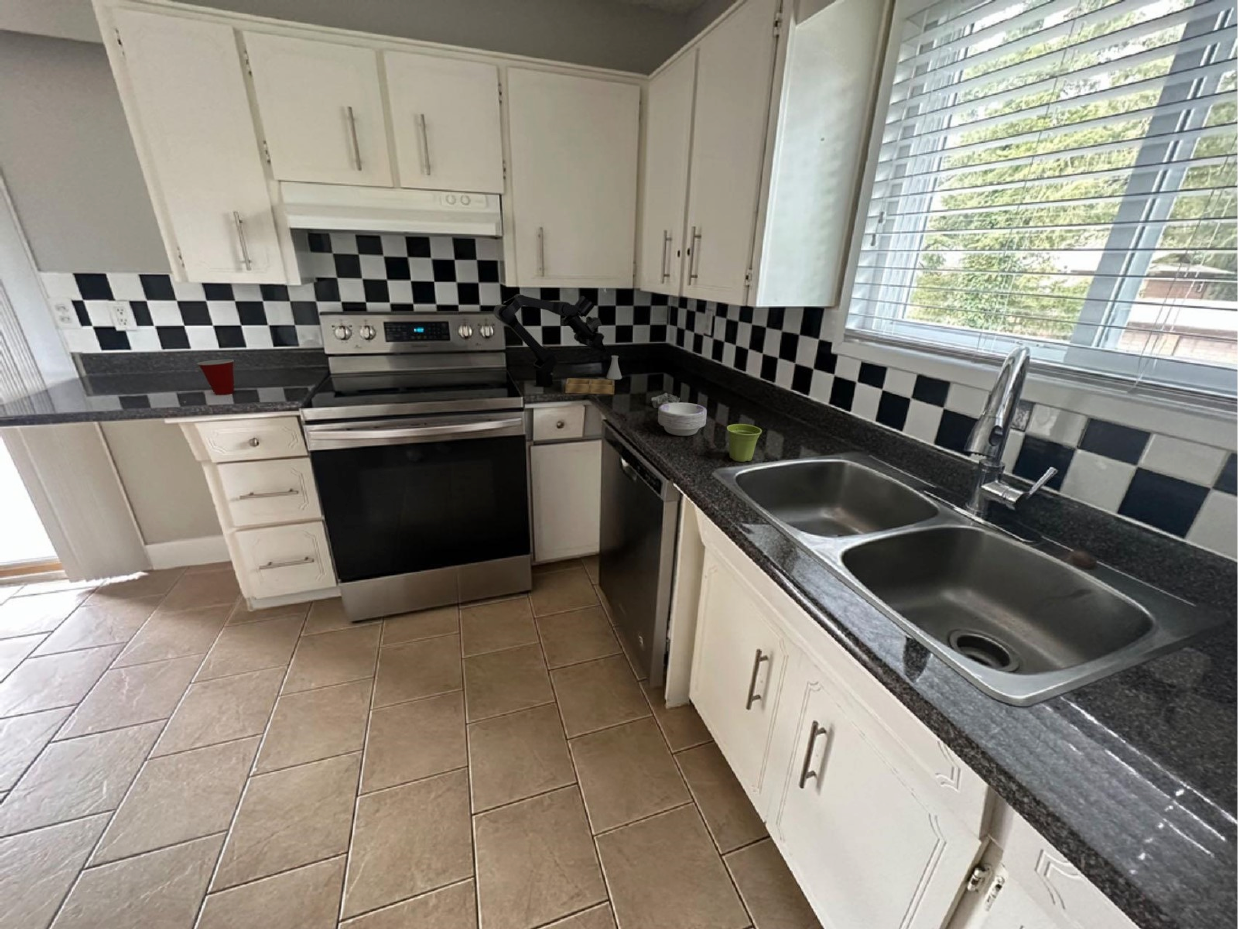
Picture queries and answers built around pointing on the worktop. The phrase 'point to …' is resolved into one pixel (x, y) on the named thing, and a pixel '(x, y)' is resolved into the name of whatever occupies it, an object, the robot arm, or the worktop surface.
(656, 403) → the egg carton
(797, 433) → the worktop surface
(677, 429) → the paper bowls
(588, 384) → the wooden divided tray
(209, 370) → the plastic cup
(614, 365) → the flask
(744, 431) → the plant pot
